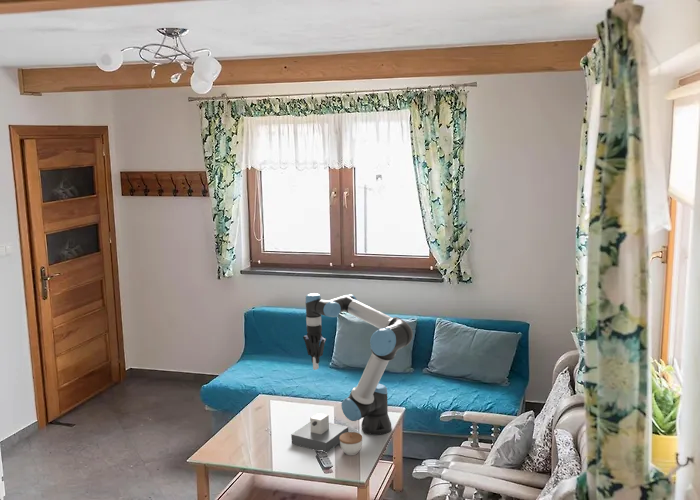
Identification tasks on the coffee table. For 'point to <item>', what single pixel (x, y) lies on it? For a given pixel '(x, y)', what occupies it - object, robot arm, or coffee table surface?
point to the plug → (319, 423)
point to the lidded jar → (351, 442)
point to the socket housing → (318, 437)
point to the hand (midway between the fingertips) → (315, 368)
